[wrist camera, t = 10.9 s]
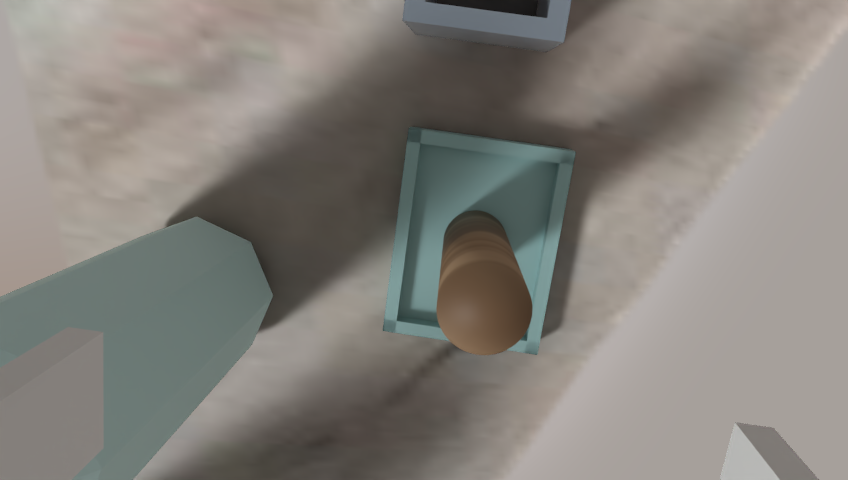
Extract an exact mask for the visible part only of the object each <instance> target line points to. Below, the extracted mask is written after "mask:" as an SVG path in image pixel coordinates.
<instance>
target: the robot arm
mask: <svg viewBox="0 0 848 480" xmlns="http://www.w3.org/2000/svg"><path fill="white" fill-rule="evenodd" d="M103 448H104V396H103V332H100V331H93V330H86V329H79V328H72V327H67V328H65V329H64V330H62V331H60V332H59V333H57V334H55V335H54V336H52V337H50V338H49V339H47V340H45V341H44V342H42V343H40V344H39V345H37V346H35V347H34V348H32V349H30V350H29V351H27V352H25V353H24V354H22V355H20V356H19V357H17V358H15V359H14V360H12V361H10V362H9V363H7V364H5V365H4V366H2V367H0V480H72V479H73V478H74V477H75V476H76V475H77V474H78V473H79V472H80V471H81V470H82V469H83V468H84V467H85V466H86V465H87V464H88V463H89V462H90V461H91V460H92V459H93V458H94V457H95V456H96V455H97V454H98V453H99V452H100V451H101V450H102V449H103ZM720 480H819V479H818V478H817V477H816V476H815V474H814V473H813V472H812V471H811V470H810V469H809V468H808V466H807V465H806V464H805V463H804V462H803V461H802V460H801V458H799V456H798V455H797V454H796V453H795V452H794V451H793V449H792V448H791V447H790V446H789V445H788V444H787V443H786V441H784V439H782V437H781V436H780V435H779V434H778V433H777V431H776V430H775V429H774V428H771V427H763V426H757V425H749V424H743V423H736V422H735V425H734V428H733V432H732V436H731V440H730V443H729V447H728V451H727V455H726V458H725V462H724V466H723V470H722V473H721V477H720Z"/></svg>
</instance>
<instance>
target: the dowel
mask: <svg viewBox="0 0 848 480" xmlns="http://www.w3.org/2000/svg"><path fill="white" fill-rule="evenodd" d="M436 310H437V319H438V322H439V325H440V328H441V330H442V332H443V333H444V335H445V336H446V337H447V338H448V340H449V341H450V342H451V343H453V344H454V345H455V346H457V347H458V348H460V349H462V350H464V351H466V352H469V353H472V354H477V355H491V354H497V353H500V352H503V351H505V350H507V349H509V348H511V347H512V346H514V345H515V344H516V343H517V342H518V341H519V340H520V339H521V338H522V337H523V336H524V334H525V333H526V331H527V329H528V327H529V325H530V322H531V318H532V311H533V310H532V300H531V296H530V293H529V290H528V288H527V285H526V283H525V280H524V278H523V275H522V273H521V270H520V268H519V265H518V262H517V260H516V257H515V255H514V252H513V250H512V247H511V245H510V242H509V240H508V237H507V234H506V232H505V230H504V227H503V226H502V224H501V223H500V221H499V220H498V219H497V218H495V217H494V216H493V215H491V214H489V213H487V212H483V211H477V210H474V211H467V212H464V213H462V214H460V215H458V216H456V217H455V218H454V219H453V220H452V221H451V222H450V223H449V225H448V226H447V228H446V231H445V234H444V240H443V249H442V259H441V268H440V278H439V287H438V297H437V307H436Z"/></svg>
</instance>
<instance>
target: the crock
mask: <svg viewBox="0 0 848 480" xmlns="http://www.w3.org/2000/svg"><path fill="white" fill-rule="evenodd" d="M436 1H437V0H405V5H404V13H403V21H404V23H405V24H406V25H407V26H408V27H409V28H410V29H411V30H412V31H413V32H414V33H415V34H416V35H423V36H430V37H438V38H445V39H452V40H460V41H467V42H474V43H482V44H489V45H496V46H504V47H511V48H518V49H526V50H533V51H541V52H548V51H550V50H551V49H553V48H555V47H557V46H558V45H560V44H562V43H564V39H565V33H566V28H567V22H568V17H569V11H570V5H571V0H538V5H537V11H536V17H534V16H527V15H519V14H512V13H504V12H497V11H489V10H482V9H475V8H467V7H460V6H452V5H445V4H437V3H436Z"/></svg>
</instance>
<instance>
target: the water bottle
mask: <svg viewBox="0 0 848 480" xmlns="http://www.w3.org/2000/svg"><path fill="white" fill-rule="evenodd" d="M272 297H273V294H272V292H271V289H270V287H269V285H268V282H267V280H266V277H265V275H264V273H263V270H262V268H261V265H260V263H259V261H258V258H257V256H256V254H255V251H254V249H253V246H252V244H251V242H250V241H247V240H245V239H243V238H241V237H239V236H237V235H235V234H233V233H231V232H228V231H226V230H224V229H222V228H220V227H218V226H216V225H214V224H212V223H209V222H207V221H205V220H203V219H201V218H199V217H197V216H196V217H194V218H191V219H188V220H185V221H183V222H180V223H177V224H174V225H171V226H169V227H166V228H163V229H160V230H158V231H155V232H152V233H149V234H146V235H144V236H141V237H139V238H137V239H134V240H132V241H130V242H127V243H125V244H123V245H120V246H118V247H116V248H113V249H111V250H109V251H106V252H104V253H102V254H99V255H97V256H95V257H92V258H90V259H88V260H85V261H83V262H81V263H78V264H76V265H74V266H71V267H69V268H67V269H64V270H62V271H60V272H57V273H55V274H52V275H50V276H48V277H46V278H43V279H41V280H38V281H36V282H34V283H31V284H29V285H27V286H24V287H22V288H20V289H17V290H15V291H13V292H10V293H8V294H6V295H3V296H1V297H0V367H2V366H4V365H5V364H7V363H9V362H10V361H12V360H14V359H15V358H17V357H19V356H20V355H22V354H24V353H25V352H27V351H29V350H30V349H32V348H34V347H35V346H37V345H39V344H40V343H42V342H44V341H45V340H47V339H49V338H50V337H52V336H54V335H55V334H57V333H59V332H60V331H62V330H64V329H65V328H67V327H72V328H79V329H86V330H93V331H100V332H103V396H104V448H103V449H102V450H101V451H100V452H99V453H98V454H97V455H96V456H95V457H94V458H93V459H92V460H91V461H90V462H89V463H88V464H87V465H86V466H85V467H84V468H83V469H82V470H81V471H80V472H79V473H78V474H77V475H76V476H75V477H74V478H73V479H72V480H133V479H134V478H135V477H136V476H137V474H138V473H139V472H140V471H141V470H142V469H143V468H144V467H145V465H146V464H147V463H148V462H149V461H150V460H151V459H152V457H153V456H154V455H155V454H156V453H157V452H158V451H159V449H160V448H161V447H162V446H163V445H164V444H165V443H166V442H167V440H168V439H169V438H170V437H171V436H172V435H173V434H174V432H175V431H176V430H177V429H178V428H179V427H180V426H181V425H182V423H183V422H184V421H185V420H186V419H187V418H188V417H189V415H190V414H191V413H192V412H193V411H194V410H195V409H196V408H197V406H198V405H199V404H200V403H201V402H202V401H203V400H204V398H205V397H206V396H207V395H208V394H209V393H210V392H211V391H212V389H213V388H214V387H215V386H216V385H217V384H218V383H219V381H220V380H221V379H222V378H223V377H224V376H225V375H226V374H227V372H228V371H229V370H230V369H231V368H232V367H233V366H234V364H235V363H236V362H237V361H238V360H239V359H240V358H241V357H242V355H243V354H244V353H245V352H246V351H247V350H248V349H249V347H250V346H251V345H252V344H253V341H254V339H255V337H256V334H257V332H258V330H259V327H260V325H261V323H262V320H263V318H264V316H265V314H266V311H267V309H268V307H269V304H270V302H271V300H272Z"/></svg>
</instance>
